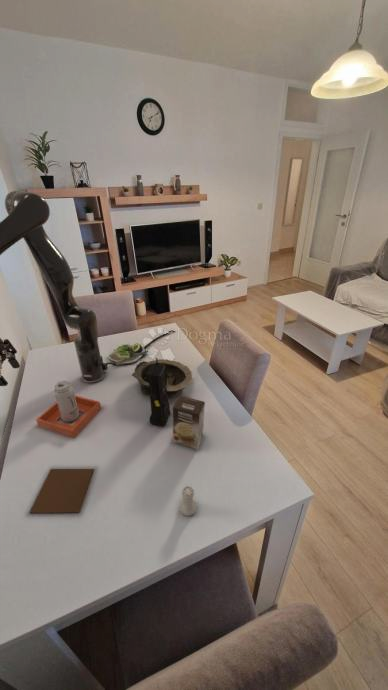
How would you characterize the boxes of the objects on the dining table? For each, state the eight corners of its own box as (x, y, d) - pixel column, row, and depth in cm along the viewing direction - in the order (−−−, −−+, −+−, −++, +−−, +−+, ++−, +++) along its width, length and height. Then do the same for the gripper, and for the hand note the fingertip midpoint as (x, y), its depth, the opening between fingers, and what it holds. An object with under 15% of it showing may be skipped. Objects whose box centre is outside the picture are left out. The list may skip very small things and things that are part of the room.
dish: (68, 399, 112) (66, 392, 110) (101, 408, 108) (100, 401, 106) (38, 426, 99) (35, 419, 97) (73, 438, 95) (71, 431, 93)
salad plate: (131, 371, 130) (130, 362, 127) (100, 363, 135) (98, 355, 133) (151, 351, 145) (150, 344, 143) (122, 345, 151) (121, 337, 149)
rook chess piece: (179, 500, 76) (178, 482, 72) (195, 499, 77) (195, 481, 73) (179, 517, 72) (179, 499, 68) (196, 516, 73) (197, 498, 69)
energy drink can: (75, 423, 101) (67, 391, 93) (59, 422, 101) (49, 390, 93) (82, 411, 106) (74, 380, 98) (66, 411, 106) (57, 379, 99)
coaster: (51, 469, 84) (50, 468, 84) (94, 469, 84) (93, 468, 84) (29, 513, 73) (29, 512, 73) (79, 513, 73) (78, 512, 73)
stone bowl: (123, 396, 113) (121, 377, 109) (153, 368, 134) (152, 351, 131) (177, 412, 105) (177, 392, 101) (200, 380, 126) (201, 362, 122)
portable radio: (164, 429, 99) (161, 372, 86) (148, 426, 100) (143, 369, 87) (170, 414, 105) (168, 358, 93) (155, 411, 106) (151, 356, 94)
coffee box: (172, 443, 93) (171, 407, 86) (179, 429, 99) (178, 394, 91) (197, 450, 91) (199, 414, 83) (203, 436, 96) (205, 400, 88)
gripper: (-20, 349, 76) (12, 390, 85) (5, 321, 87) (31, 360, 97) (-46, 353, 76) (-12, 393, 86) (-18, 325, 87) (10, 363, 97)
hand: (11, 376), depth 91 cm, fingers open, 8 cm apart
